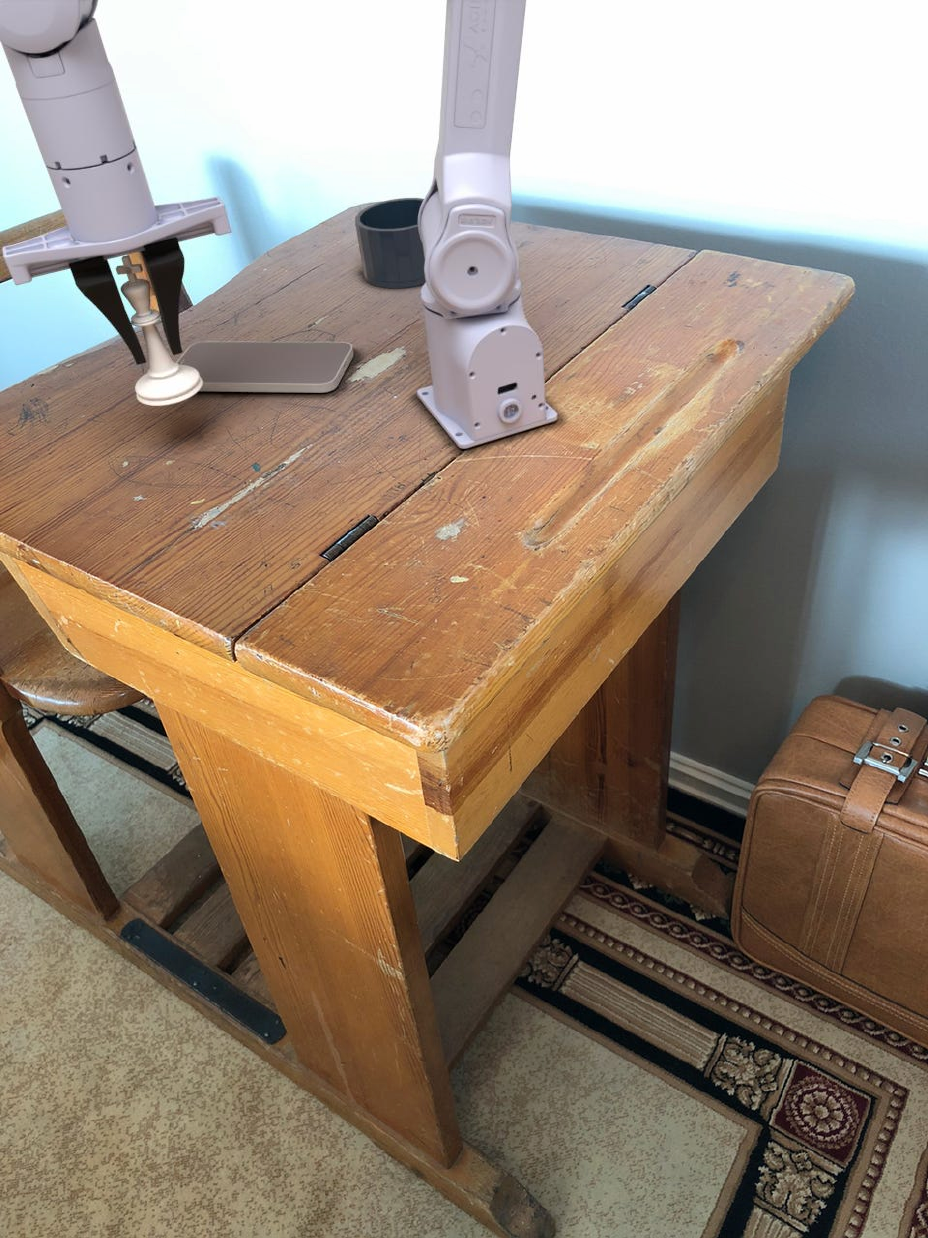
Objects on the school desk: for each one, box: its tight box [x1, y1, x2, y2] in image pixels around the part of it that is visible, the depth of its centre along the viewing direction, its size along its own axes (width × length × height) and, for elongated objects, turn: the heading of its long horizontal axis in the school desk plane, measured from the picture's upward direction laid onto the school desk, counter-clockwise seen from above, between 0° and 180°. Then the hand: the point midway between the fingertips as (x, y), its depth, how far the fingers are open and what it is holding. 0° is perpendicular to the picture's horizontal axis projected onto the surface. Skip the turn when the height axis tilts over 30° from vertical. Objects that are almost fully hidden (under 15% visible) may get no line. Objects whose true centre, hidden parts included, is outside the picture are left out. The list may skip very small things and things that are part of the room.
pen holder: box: [354, 197, 426, 289], centre depth 94 cm, size 8×8×6 cm
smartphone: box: [176, 341, 355, 394], centre depth 82 cm, size 7×1×15 cm
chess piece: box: [115, 254, 203, 407], centre depth 69 cm, size 5×5×10 cm
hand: (158, 353), depth 70 cm, fingers closed on chess piece
